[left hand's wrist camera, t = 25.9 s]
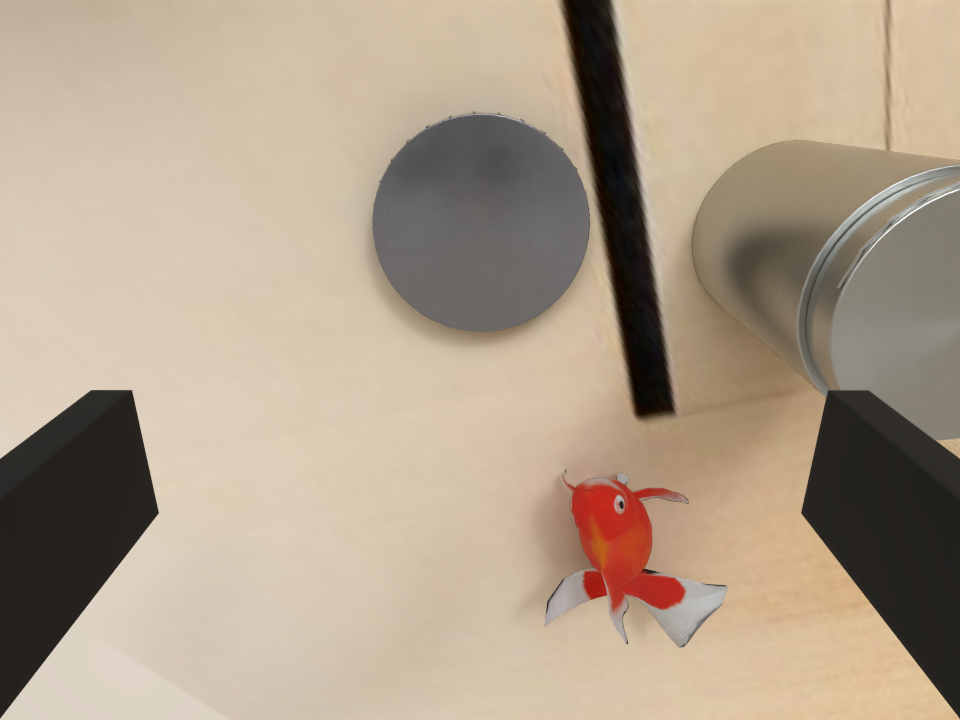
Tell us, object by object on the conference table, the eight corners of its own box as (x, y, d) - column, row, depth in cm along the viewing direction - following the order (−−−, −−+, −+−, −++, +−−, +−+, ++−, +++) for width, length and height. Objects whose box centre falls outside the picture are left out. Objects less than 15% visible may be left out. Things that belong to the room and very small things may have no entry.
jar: (912, 182, 36) (1192, 237, 22) (811, 344, 39) (996, 482, 25) (749, 109, 34) (936, 118, 20) (660, 284, 38) (766, 395, 24)
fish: (752, 439, 36) (747, 616, 30) (719, 563, 47) (711, 710, 41) (560, 412, 39) (520, 568, 33) (573, 535, 51) (544, 668, 44)
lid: (363, 299, 38) (356, 310, 36) (395, 88, 34) (389, 88, 32) (555, 338, 39) (559, 350, 37) (609, 138, 35) (617, 140, 33)
